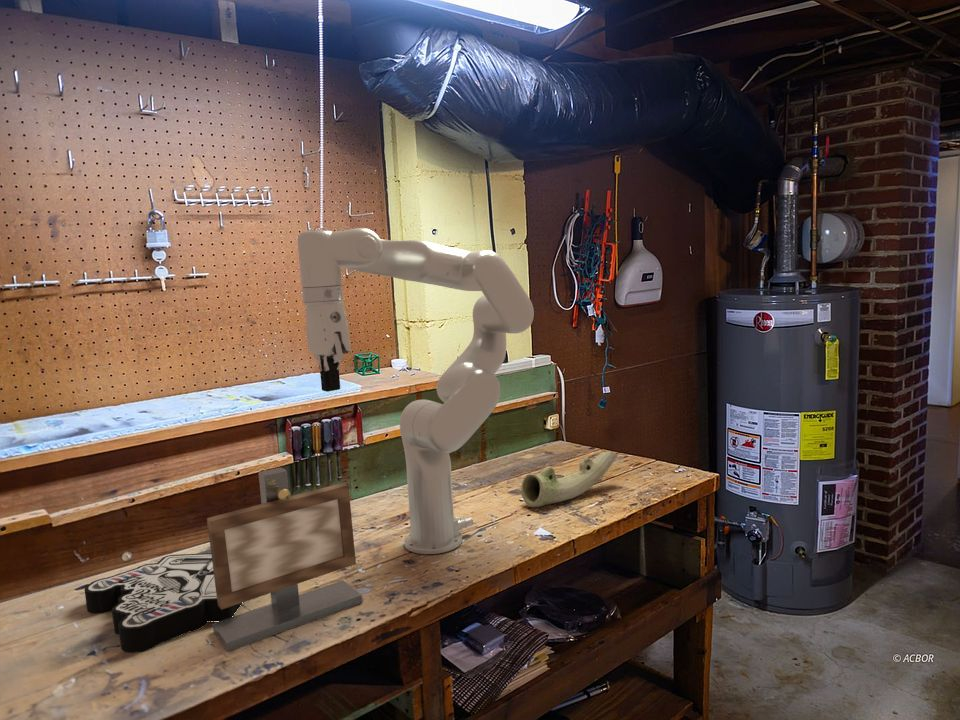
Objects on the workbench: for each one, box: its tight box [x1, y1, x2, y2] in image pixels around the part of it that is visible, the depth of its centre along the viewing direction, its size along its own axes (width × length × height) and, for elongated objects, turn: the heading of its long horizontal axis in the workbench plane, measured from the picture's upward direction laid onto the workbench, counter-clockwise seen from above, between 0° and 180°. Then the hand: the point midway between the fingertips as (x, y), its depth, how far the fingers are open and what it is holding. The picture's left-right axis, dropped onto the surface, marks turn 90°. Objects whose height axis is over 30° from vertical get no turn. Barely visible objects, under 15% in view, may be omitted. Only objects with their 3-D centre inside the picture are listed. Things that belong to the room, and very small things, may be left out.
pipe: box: [520, 450, 618, 508], centre depth 174 cm, size 28×8×10 cm, turn 128°
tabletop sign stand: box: [212, 467, 363, 652], centre depth 118 cm, size 24×8×26 cm, turn 126°
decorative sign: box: [84, 552, 243, 654], centre depth 129 cm, size 28×4×30 cm
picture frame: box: [206, 482, 357, 610], centre depth 118 cm, size 24×2×15 cm, turn 126°
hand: (331, 390), depth 134 cm, fingers closed
